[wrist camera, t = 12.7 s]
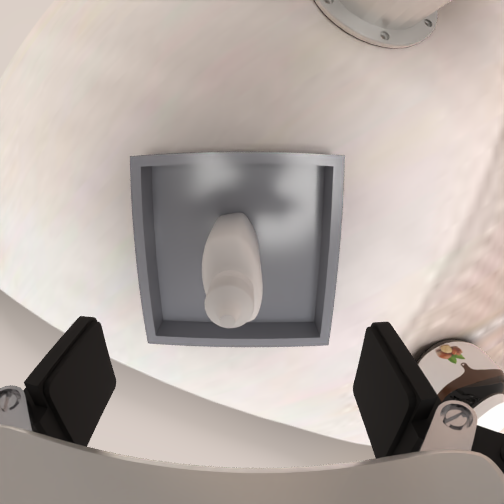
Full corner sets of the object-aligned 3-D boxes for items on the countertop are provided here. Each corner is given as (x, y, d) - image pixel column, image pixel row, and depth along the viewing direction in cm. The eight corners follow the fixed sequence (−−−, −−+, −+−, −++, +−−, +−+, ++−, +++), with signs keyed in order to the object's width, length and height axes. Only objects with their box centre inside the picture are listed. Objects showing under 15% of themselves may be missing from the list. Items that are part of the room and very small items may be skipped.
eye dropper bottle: (200, 269, 26) (166, 353, 14) (222, 204, 24) (198, 247, 13) (250, 286, 26) (252, 379, 15) (275, 223, 25) (297, 281, 13)
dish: (145, 156, 24) (130, 156, 21) (332, 155, 24) (344, 155, 21) (157, 323, 28) (147, 343, 25) (320, 324, 28) (328, 345, 25)
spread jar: (477, 331, 30) (534, 386, 18) (450, 402, 33) (488, 460, 22) (395, 343, 29) (445, 419, 18) (372, 418, 33) (402, 491, 22)
